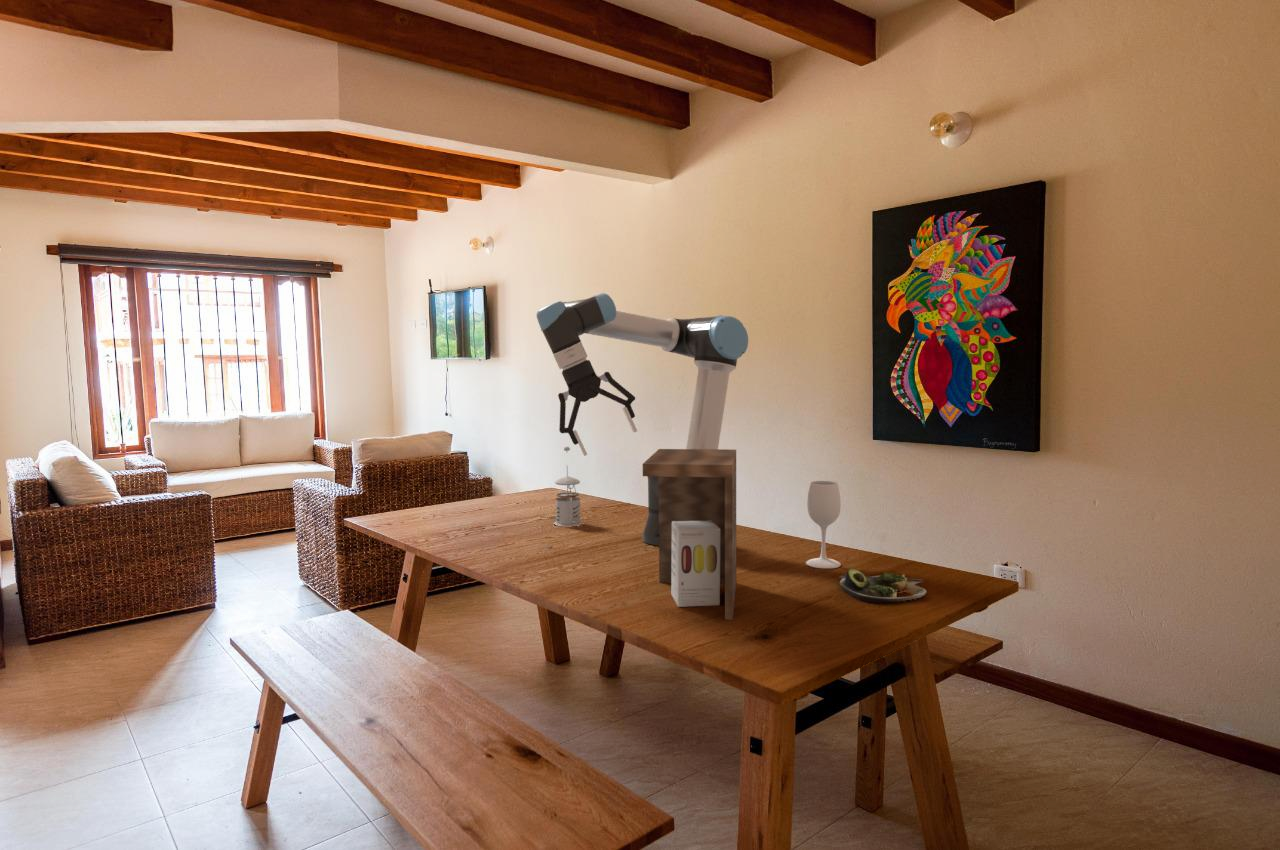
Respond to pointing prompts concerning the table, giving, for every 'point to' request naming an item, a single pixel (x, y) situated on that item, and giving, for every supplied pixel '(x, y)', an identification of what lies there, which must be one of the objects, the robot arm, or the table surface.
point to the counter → (697, 504)
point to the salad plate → (880, 587)
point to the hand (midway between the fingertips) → (610, 443)
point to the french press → (567, 502)
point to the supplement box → (695, 563)
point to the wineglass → (823, 516)
